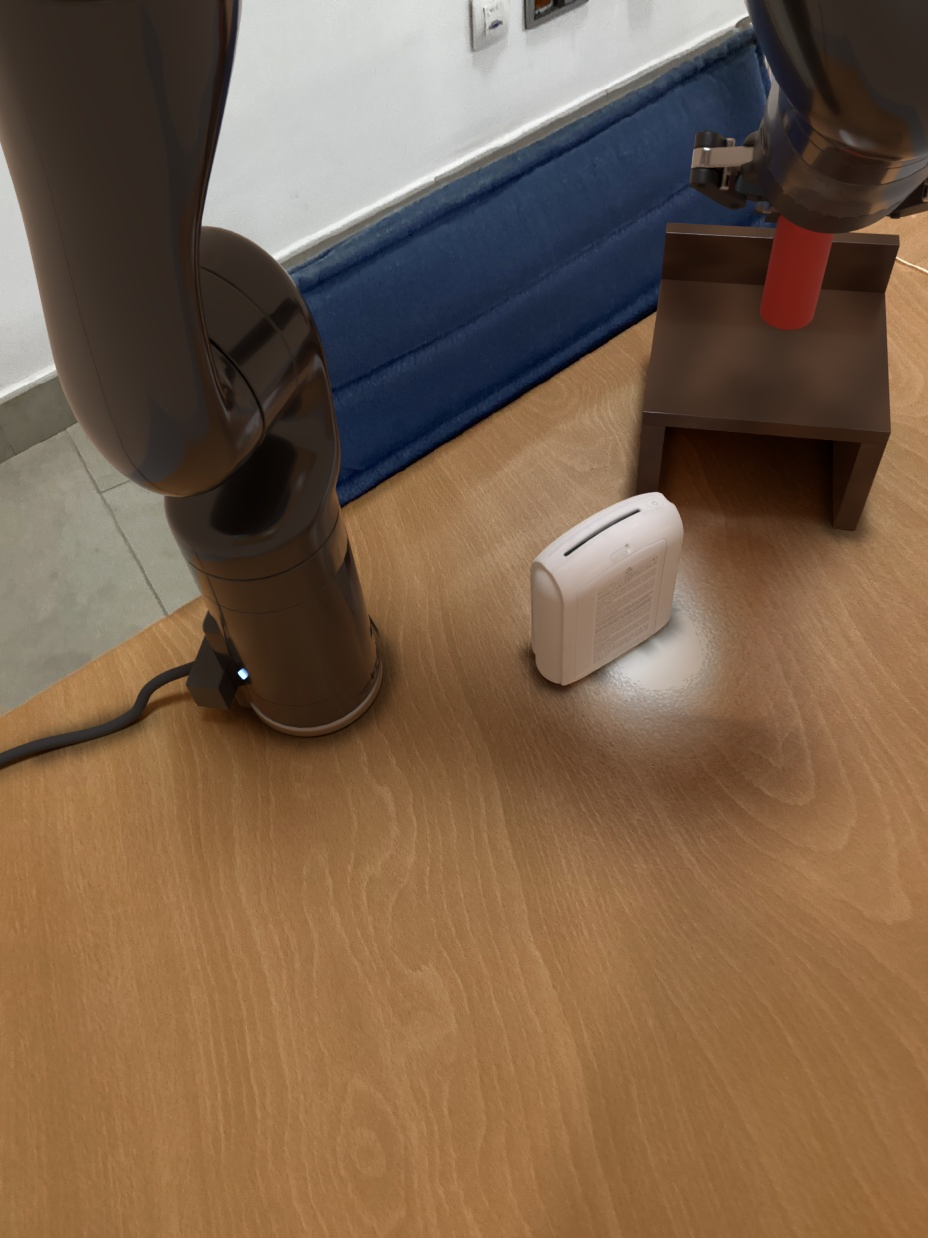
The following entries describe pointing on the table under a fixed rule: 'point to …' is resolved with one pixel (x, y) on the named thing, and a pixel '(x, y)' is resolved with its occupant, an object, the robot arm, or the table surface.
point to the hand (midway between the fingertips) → (805, 205)
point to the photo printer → (604, 586)
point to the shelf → (771, 353)
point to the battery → (794, 275)
